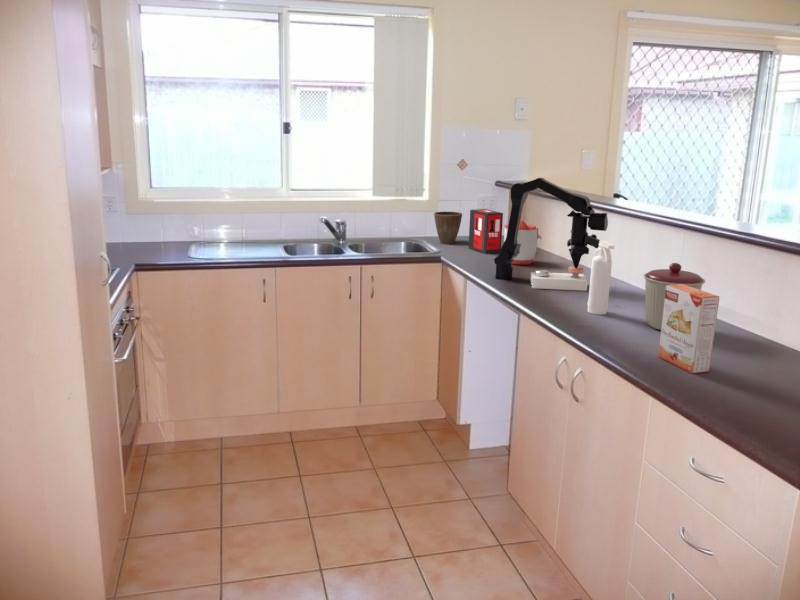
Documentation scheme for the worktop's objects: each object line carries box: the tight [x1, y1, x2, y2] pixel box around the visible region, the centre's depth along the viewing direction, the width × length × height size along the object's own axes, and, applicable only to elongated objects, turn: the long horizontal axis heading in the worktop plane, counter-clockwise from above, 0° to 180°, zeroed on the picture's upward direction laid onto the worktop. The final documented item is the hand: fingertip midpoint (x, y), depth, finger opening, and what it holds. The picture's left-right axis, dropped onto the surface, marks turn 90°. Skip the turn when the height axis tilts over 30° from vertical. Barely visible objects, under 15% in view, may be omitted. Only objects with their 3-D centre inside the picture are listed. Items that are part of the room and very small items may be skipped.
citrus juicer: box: [503, 219, 543, 266], centre depth 316 cm, size 16×17×20 cm
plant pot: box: [433, 211, 463, 245], centre depth 366 cm, size 15×15×16 cm
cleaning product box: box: [468, 208, 504, 255], centre depth 345 cm, size 16×9×20 cm, turn 25°
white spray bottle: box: [586, 239, 615, 315], centre depth 234 cm, size 7×12×25 cm, turn 9°
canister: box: [643, 262, 706, 331], centre depth 216 cm, size 18×18×21 cm
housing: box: [529, 271, 588, 292], centre depth 273 cm, size 21×12×4 cm, turn 83°
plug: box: [534, 269, 550, 277], centre depth 273 cm, size 6×6×5 cm
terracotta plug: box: [568, 265, 584, 278], centre depth 271 cm, size 6×6×5 cm
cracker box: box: [657, 284, 720, 375], centre depth 182 cm, size 14×6×21 cm, turn 17°
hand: (575, 267), depth 271 cm, fingers closed, pressing on terracotta plug
